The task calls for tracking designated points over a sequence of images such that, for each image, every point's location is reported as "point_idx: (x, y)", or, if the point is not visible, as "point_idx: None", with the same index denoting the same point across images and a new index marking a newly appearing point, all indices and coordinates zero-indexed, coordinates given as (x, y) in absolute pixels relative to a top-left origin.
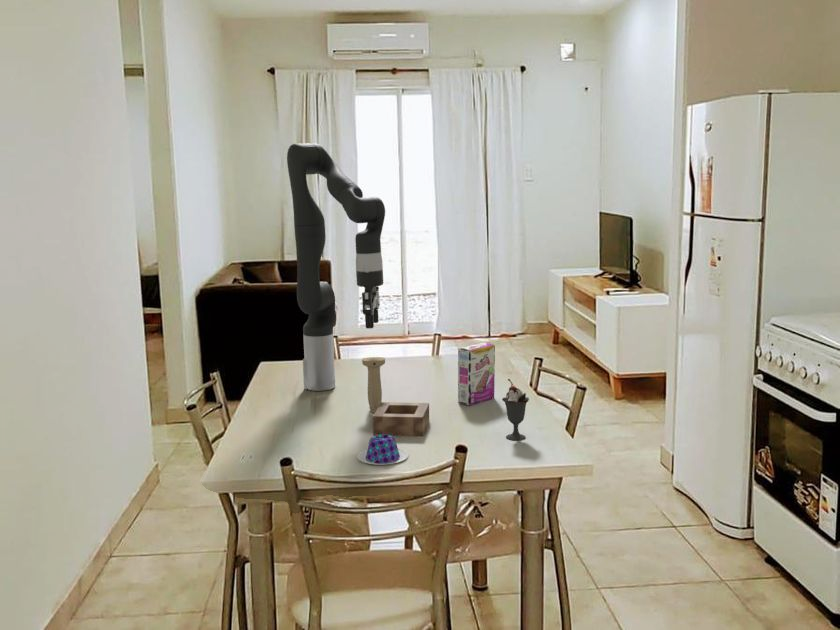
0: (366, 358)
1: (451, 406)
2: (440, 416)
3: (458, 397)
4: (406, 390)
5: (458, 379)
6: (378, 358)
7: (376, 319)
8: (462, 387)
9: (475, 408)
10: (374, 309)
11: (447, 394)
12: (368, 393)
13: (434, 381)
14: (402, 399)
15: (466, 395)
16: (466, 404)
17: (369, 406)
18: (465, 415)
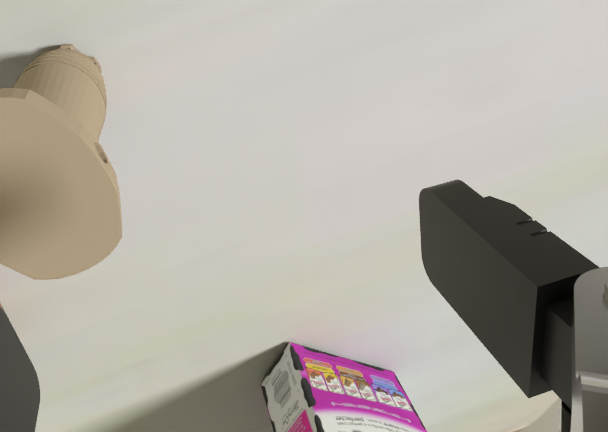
0: (30, 126)
1: (240, 336)
2: (97, 351)
3: (291, 357)
4: (446, 94)
5: (311, 413)
6: (73, 221)
7: (445, 280)
8: (291, 406)
9: (236, 406)
10: (555, 359)
11: (397, 268)
12: (19, 76)
13: (581, 159)
14: (299, 129)
15: (273, 400)
16: (268, 373)
17: (59, 47)
18: (142, 411)
